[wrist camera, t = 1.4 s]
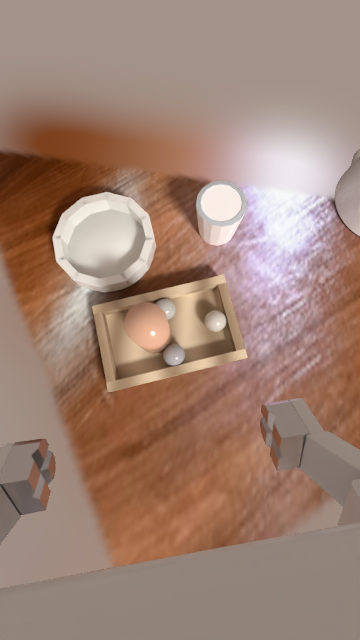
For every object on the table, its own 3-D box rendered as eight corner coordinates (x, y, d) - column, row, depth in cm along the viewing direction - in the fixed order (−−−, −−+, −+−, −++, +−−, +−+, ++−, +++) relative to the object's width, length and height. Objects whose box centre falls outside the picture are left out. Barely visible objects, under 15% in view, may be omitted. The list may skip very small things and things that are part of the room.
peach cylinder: (167, 316, 44) (162, 297, 34) (175, 349, 43) (171, 339, 33) (135, 324, 44) (120, 307, 34) (142, 357, 43) (128, 349, 33)
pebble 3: (221, 310, 44) (224, 305, 41) (227, 330, 43) (230, 326, 40) (201, 315, 44) (202, 310, 41) (206, 335, 43) (208, 332, 40)
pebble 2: (159, 347, 43) (179, 343, 44) (163, 368, 42) (183, 364, 43) (163, 344, 40) (185, 340, 41) (168, 367, 39) (190, 362, 40)
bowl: (144, 196, 49) (141, 184, 46) (164, 279, 46) (162, 272, 43) (56, 217, 49) (47, 205, 45) (70, 301, 46) (62, 295, 42)
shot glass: (204, 202, 49) (207, 173, 42) (244, 217, 48) (254, 189, 41) (187, 239, 47) (187, 215, 40) (229, 255, 47) (236, 233, 40)
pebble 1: (149, 303, 44) (167, 301, 45) (154, 324, 43) (172, 320, 44) (156, 297, 41) (176, 294, 42) (161, 318, 40) (181, 315, 42)
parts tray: (221, 281, 46) (223, 274, 43) (243, 359, 43) (247, 357, 41) (97, 310, 45) (91, 306, 43) (113, 391, 43) (108, 391, 40)
